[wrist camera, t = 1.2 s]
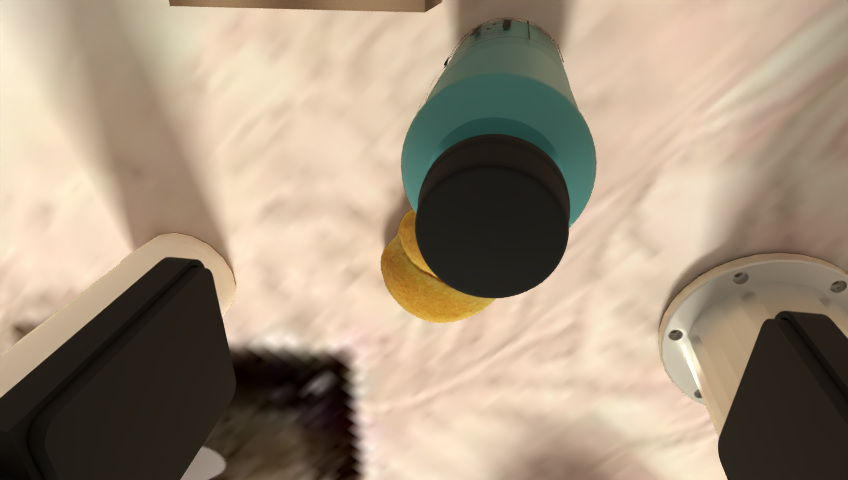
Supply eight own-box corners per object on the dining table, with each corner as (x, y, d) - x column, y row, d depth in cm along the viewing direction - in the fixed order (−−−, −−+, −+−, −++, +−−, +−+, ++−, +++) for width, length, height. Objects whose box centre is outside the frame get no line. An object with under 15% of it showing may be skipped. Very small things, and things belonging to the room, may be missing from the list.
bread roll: (370, 274, 39) (355, 305, 35) (426, 174, 34) (415, 198, 31) (469, 326, 39) (464, 361, 36) (536, 234, 35) (538, 265, 32)
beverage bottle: (522, -14, 28) (525, 36, 11) (587, 89, 30) (681, 274, 13) (426, 63, 31) (304, 202, 13) (492, 153, 33) (460, 378, 15)
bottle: (256, 306, 41) (-196, 906, 15) (177, 327, 44) (-329, 877, 18) (202, 217, 38) (-481, 779, 12) (120, 245, 41) (-596, 765, 15)
